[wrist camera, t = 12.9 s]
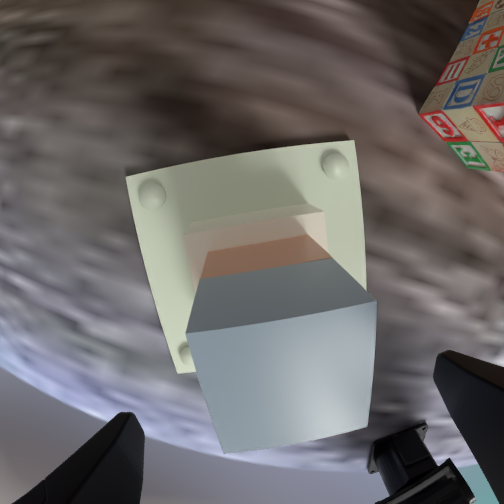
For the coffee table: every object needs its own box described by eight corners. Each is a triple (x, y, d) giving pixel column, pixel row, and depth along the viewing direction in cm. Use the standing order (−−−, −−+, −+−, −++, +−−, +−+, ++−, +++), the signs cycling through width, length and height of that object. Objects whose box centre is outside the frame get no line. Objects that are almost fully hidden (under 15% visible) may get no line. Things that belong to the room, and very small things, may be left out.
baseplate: (363, 336, 22) (368, 342, 21) (178, 368, 22) (176, 376, 21) (350, 140, 18) (356, 139, 17) (128, 176, 18) (123, 177, 17)
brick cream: (318, 308, 20) (333, 333, 17) (214, 326, 20) (211, 355, 17) (307, 203, 19) (324, 211, 15) (191, 222, 18) (182, 234, 15)
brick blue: (336, 364, 13) (367, 426, 9) (224, 384, 13) (223, 453, 9) (332, 257, 12) (377, 300, 8) (199, 279, 11) (185, 333, 8)
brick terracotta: (316, 323, 17) (338, 363, 13) (226, 339, 17) (226, 385, 13) (308, 234, 15) (332, 257, 12) (207, 251, 15) (199, 280, 11)
